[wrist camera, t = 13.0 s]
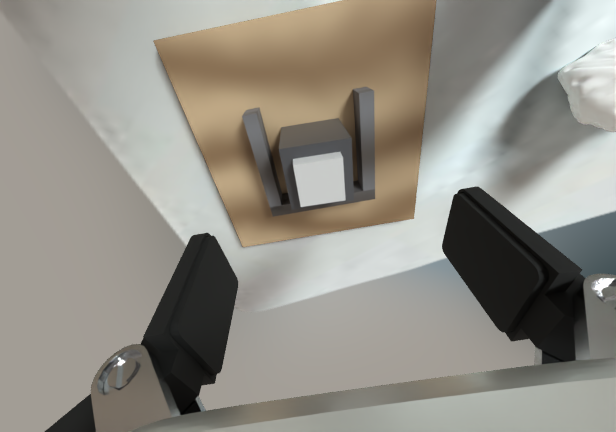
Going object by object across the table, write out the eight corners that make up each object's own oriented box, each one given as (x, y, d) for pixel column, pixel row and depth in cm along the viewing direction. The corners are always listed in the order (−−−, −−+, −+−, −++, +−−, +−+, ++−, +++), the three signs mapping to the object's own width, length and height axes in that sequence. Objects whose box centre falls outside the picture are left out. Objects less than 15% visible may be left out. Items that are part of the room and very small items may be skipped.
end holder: (160, 40, 16) (137, 40, 14) (430, -17, 16) (457, -29, 13) (244, 240, 27) (239, 260, 24) (409, 213, 26) (422, 230, 23)
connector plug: (281, 127, 19) (277, 155, 14) (338, 118, 19) (355, 143, 14) (291, 178, 22) (291, 217, 17) (341, 171, 21) (357, 208, 17)
